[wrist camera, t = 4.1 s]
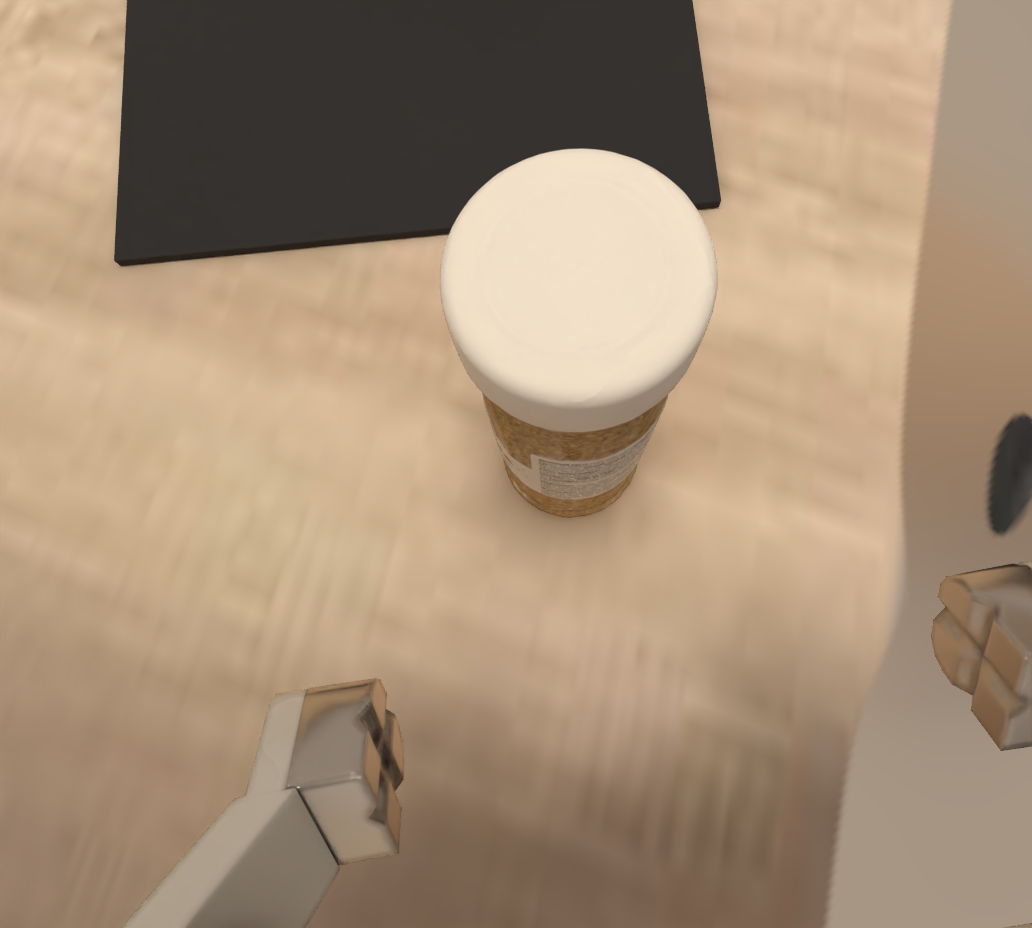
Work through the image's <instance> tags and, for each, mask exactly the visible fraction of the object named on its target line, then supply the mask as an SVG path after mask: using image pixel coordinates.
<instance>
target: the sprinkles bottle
mask: <svg viewBox="0 0 1032 928" xmlns="http://www.w3.org/2000/svg"><path fill="white" fill-rule="evenodd" d="M716 293H717V262H716V256H715V251H714V247H713V243H712V239H711V237H710V234H709V231H708V229H707V227H706V224H705V222H704V220H703V218H702V217H701V215H700V213H699V212H698V210H697V208H696V207H695V206H694V204H693V203H692V202H691V200H690V199H689V198H688V196H687V195H686V194H685V193H684V192H683V191H682V190H681V189H680V188H679V187H678V186H677V185H676V184H675V183H673V182H672V181H671V180H670V179H669V178H667V177H666V176H665V175H663V174H662V173H660V172H659V171H657V170H656V169H654V168H652V167H650V166H649V165H647V164H645V163H643V162H641V161H639V160H637V159H634V158H631V157H627V156H624V155H621V154H617V153H614V152H609V151H604V150H596V149H565V150H558V151H552V152H548V153H543V154H539V155H536V156H533V157H530V158H528V159H525V160H523V161H521V162H518V163H516V164H514V165H512V166H510V167H508V168H507V169H505V170H503V171H502V172H500V173H498V174H497V175H496V176H494V177H493V178H492V179H491V180H489V181H488V182H487V183H486V184H485V185H484V186H483V187H481V188H480V189H479V190H478V191H477V192H476V193H475V194H474V195H473V197H472V198H471V199H470V200H469V201H468V203H467V204H466V205H465V207H464V208H463V210H462V211H461V212H460V214H459V216H458V217H457V219H456V221H455V223H454V225H453V227H452V229H451V231H450V234H449V236H448V239H447V242H446V245H445V248H444V251H443V255H442V261H441V267H440V294H441V302H442V307H443V312H444V315H445V319H446V322H447V325H448V328H449V331H450V334H451V337H452V339H453V342H454V345H455V347H456V350H457V352H458V355H459V357H460V359H461V362H462V364H463V366H464V368H465V369H466V371H467V373H468V375H469V376H470V378H471V379H472V381H473V382H474V383H475V385H476V386H477V387H478V389H479V390H480V391H481V392H482V394H483V398H484V403H485V408H486V412H487V415H488V417H489V419H490V422H491V426H492V429H493V432H494V434H495V437H496V440H497V443H498V446H499V448H500V451H501V454H502V456H503V459H504V463H505V468H506V471H507V473H508V476H509V478H510V480H511V482H512V484H513V485H514V487H515V489H516V490H517V491H518V492H519V493H520V495H521V496H523V497H524V498H525V499H526V500H527V501H528V502H530V503H531V504H532V505H534V506H536V507H538V508H539V509H541V510H544V511H546V512H549V513H553V514H557V515H561V516H565V517H573V516H578V515H588V514H591V513H594V512H597V511H600V510H602V509H603V508H605V507H606V506H608V505H610V504H612V503H613V502H614V501H616V500H617V499H618V498H619V496H620V495H621V494H622V492H623V491H624V490H625V489H626V488H627V486H628V485H629V483H630V482H631V480H632V477H633V475H634V473H635V471H636V467H637V463H638V461H639V459H640V457H641V455H642V453H643V451H644V449H645V447H646V445H647V443H648V441H649V439H650V437H651V434H652V432H653V430H654V428H655V426H656V424H657V421H658V419H659V417H660V415H661V413H662V411H663V408H664V406H665V403H666V400H667V398H668V394H669V393H670V392H671V391H672V390H673V389H674V387H675V386H676V385H677V383H678V382H679V381H680V379H681V378H682V377H683V375H684V374H685V373H686V371H687V370H688V368H689V366H690V364H691V362H692V360H693V358H694V356H695V354H696V352H697V350H698V348H699V345H700V343H701V341H702V339H703V337H704V334H705V331H706V329H707V326H708V323H709V320H710V318H711V315H712V312H713V307H714V303H715V299H716Z"/></svg>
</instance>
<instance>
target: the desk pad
mask: <svg viewBox="0 0 1032 928" xmlns="http://www.w3.org/2000/svg"><path fill="white" fill-rule="evenodd" d="M565 149H596V150H604V151H609V152H614V153H617V154H621V155H624V156H627V157H631V158H634V159H637V160H639V161H641V162H643V163H645V164H647V165H649V166H650V167H652V168H654V169H656V170H657V171H659V172H660V173H662V174H663V175H665V176H666V177H667V178H669V179H670V180H671V181H672V182H673V183H675V184H676V185H677V186H678V187H679V188H680V189H681V190H682V191H683V192H684V193H685V194H686V195H687V196H688V198H689V199H690V200H691V202H692V203H693V204H694V206H695V207H696V208H697V209H702V208H712V207H719V205H720V202H721V197H720V190H719V183H718V176H717V169H716V162H715V155H714V148H713V141H712V135H711V128H710V121H709V114H708V107H707V100H706V93H705V86H704V79H703V72H702V65H701V58H700V51H699V44H698V37H697V30H696V23H695V16H694V9H693V2H692V0H127V14H126V34H125V54H124V75H123V95H122V115H121V135H120V155H119V175H118V195H117V215H116V235H115V255H114V261H115V262H116V263H118V264H119V265H130V264H140V263H151V262H161V261H171V260H181V259H191V258H202V257H212V256H222V255H232V254H243V253H253V252H263V251H273V250H283V249H294V248H304V247H314V246H324V245H334V244H345V243H355V242H365V241H375V240H386V239H396V238H406V237H416V236H426V235H437V234H447V233H450V231H451V229H452V227H453V225H454V223H455V221H456V219H457V217H458V216H459V214H460V212H461V211H462V210H463V208H464V207H465V205H466V204H467V203H468V201H469V200H470V199H471V198H472V197H473V195H474V194H475V193H476V192H477V191H478V190H479V189H480V188H481V187H483V186H484V185H485V184H486V183H487V182H488V181H489V180H491V179H492V178H493V177H494V176H496V175H497V174H498V173H500V172H502V171H503V170H505V169H507V168H508V167H510V166H512V165H514V164H516V163H518V162H521V161H523V160H525V159H528V158H530V157H533V156H536V155H539V154H543V153H548V152H552V151H558V150H565Z"/></svg>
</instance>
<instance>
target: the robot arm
mask: <svg viewBox="0 0 1032 928" xmlns="http://www.w3.org/2000/svg"><path fill="white" fill-rule="evenodd" d="M938 598H939V599H940V601H941V602H942V603H943V604H944V606H945V608H944V609H943V610H942V611H941V612H940V613H939V614H938V615H937V617H936V618H935V619H934V620H933V626H932V634H931V639H932V644H933V649H934V653H935V657H936V659H937V661H938V663H939V665H940V667H941V669H942V671H943V672H944V674H945V675H946V676H947V678H948V679H949V681H950V682H951V684H952V685H954V686H956V687H958V688H960V689H962V690H964V691H965V692H968V693H969V694H971V695H973V698H972V706H971V711H972V712H973V714H974V715H975V716H976V718H977V719H978V720H979V722H980V723H981V725H982V726H983V727H984V729H985V730H986V731H987V733H988V734H989V735H990V737H991V738H992V739H993V741H994V742H995V743H996V745H997V746H998V748H999V749H1000V750H1001V751H1003V750H1010V749H1017V748H1024V747H1030V746H1032V561H1027V562H1021V563H1018V564H1009V565H1004V566H999V567H993V568H988V569H982V570H978V571H972V572H967V573H961V574H956V575H951V576H946V578H945V579H944V580H943V581H942V583H941V584H940V588H939V593H938ZM386 699H387V693H386V691H385V689H384V687H383V684H382V682H381V680H380V679H376V678H374V679H368V680H361V681H354V682H348V683H341V684H335V685H328V686H321V687H315V688H310V689H305V690H299V691H292V692H286V693H279V694H276V695H275V696H274V698H273V699H272V701H271V702H270V704H269V706H268V710H267V714H266V718H265V721H264V725H263V729H262V733H261V737H260V741H259V744H258V748H257V752H256V756H255V760H254V764H253V767H252V771H251V775H250V779H249V783H248V787H247V790H246V794H245V796H244V797H239V798H235V799H234V800H233V801H232V802H231V803H230V804H229V805H228V807H227V808H226V809H225V810H224V811H223V812H222V813H221V815H220V816H219V817H218V818H217V819H216V820H215V821H214V823H213V824H212V825H211V826H210V827H209V828H208V829H207V831H206V832H205V833H204V834H203V835H202V836H201V837H200V838H199V840H198V841H197V842H196V843H195V844H194V845H193V846H192V848H191V849H190V850H189V851H188V852H187V853H186V854H185V856H184V857H183V858H182V859H181V860H180V861H179V862H178V864H177V865H176V866H175V867H174V868H173V869H172V870H171V872H170V873H169V874H168V875H167V876H166V877H165V878H164V880H163V881H162V882H161V883H160V884H159V885H158V886H157V888H156V889H155V890H154V891H153V892H152V893H151V894H150V895H149V897H148V898H147V899H146V900H145V901H144V902H143V903H142V905H141V906H140V907H139V908H138V909H137V910H136V911H135V913H134V914H133V915H132V916H131V917H130V918H129V919H128V921H127V922H126V923H125V924H124V925H123V926H122V927H121V928H305V927H306V926H307V924H308V922H309V921H310V919H311V917H312V915H313V914H314V912H315V910H316V909H317V907H318V905H319V904H320V902H321V900H322V898H323V897H324V895H325V893H326V892H327V890H328V888H329V887H330V885H331V883H332V881H333V880H334V878H335V876H336V875H337V873H338V871H339V870H340V869H339V866H338V865H343V864H348V863H353V862H358V861H363V860H368V859H373V858H378V857H383V856H388V855H393V854H398V853H399V841H400V826H401V811H402V808H401V806H400V803H399V801H398V798H397V796H396V794H395V791H396V789H397V788H398V786H399V785H400V784H401V782H402V781H403V777H404V752H403V740H402V736H401V732H400V727H399V724H398V721H397V719H396V716H395V714H393V713H392V712H390V711H388V710H386ZM1006 928H1032V923H1030V924H1024V925H1018V926H1012V927H1006Z"/></svg>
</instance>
